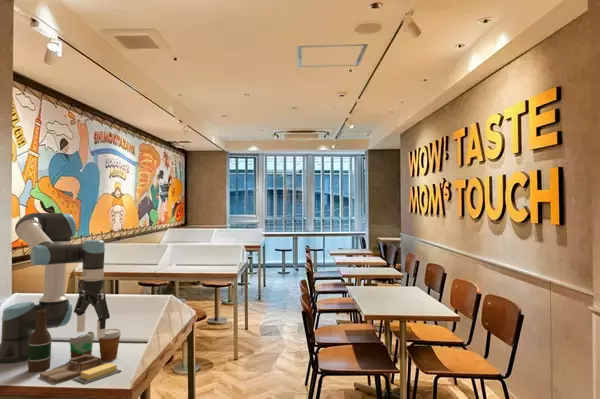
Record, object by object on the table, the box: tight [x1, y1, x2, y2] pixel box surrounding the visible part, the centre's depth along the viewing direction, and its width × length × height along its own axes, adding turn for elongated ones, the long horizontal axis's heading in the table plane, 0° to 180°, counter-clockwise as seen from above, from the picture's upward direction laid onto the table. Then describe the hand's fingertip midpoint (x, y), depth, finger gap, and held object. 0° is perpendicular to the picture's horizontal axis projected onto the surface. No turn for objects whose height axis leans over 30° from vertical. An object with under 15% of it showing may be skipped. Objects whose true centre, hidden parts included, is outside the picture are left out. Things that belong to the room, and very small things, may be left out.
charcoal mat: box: [72, 368, 122, 385], centre depth 158 cm, size 8×15×1 cm, turn 148°
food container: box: [68, 331, 96, 359], centre depth 179 cm, size 12×6×10 cm, turn 168°
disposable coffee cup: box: [98, 328, 122, 362], centre depth 178 cm, size 10×10×12 cm
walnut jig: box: [39, 354, 106, 384], centre depth 161 cm, size 12×20×4 cm, turn 148°
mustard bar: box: [81, 362, 118, 380], centre depth 159 cm, size 5×12×7 cm, turn 150°
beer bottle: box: [27, 310, 52, 373], centre depth 165 cm, size 8×8×24 cm
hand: (90, 334), depth 156 cm, fingers open, 13 cm apart
